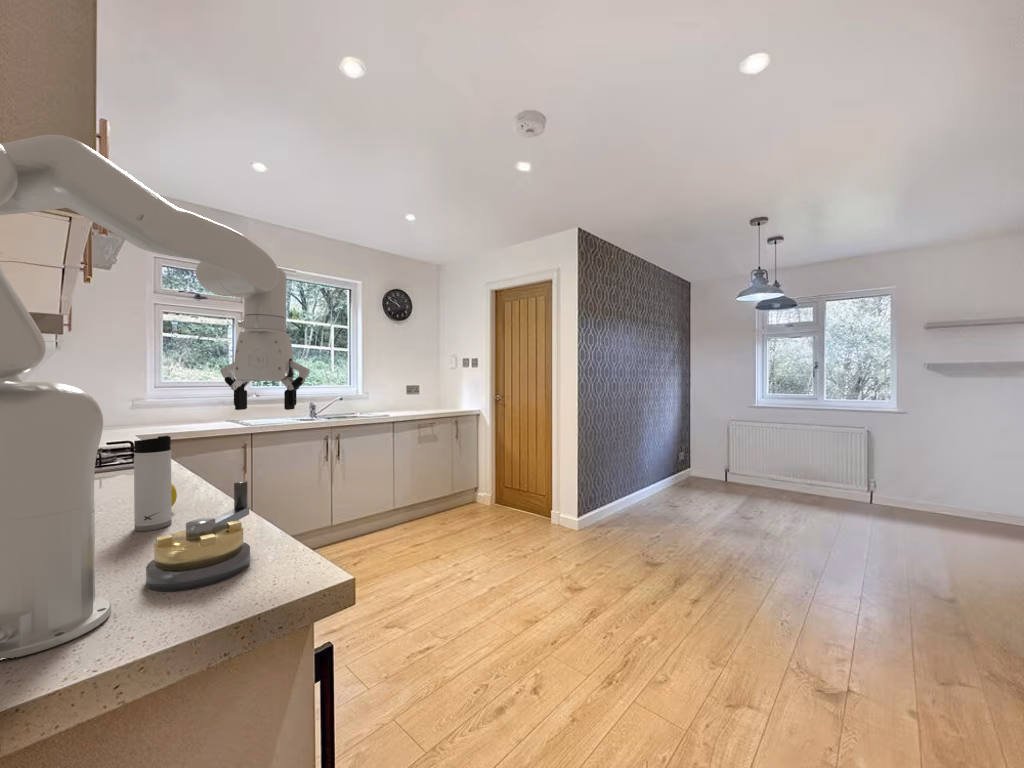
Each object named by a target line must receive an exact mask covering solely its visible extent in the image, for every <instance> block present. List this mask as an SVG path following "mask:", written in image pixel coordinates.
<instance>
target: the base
mask: <svg viewBox="0 0 1024 768" xmlns="http://www.w3.org/2000/svg"><path fill="white" fill-rule="evenodd" d="M250 564H251V546H250V545H249V544H248V543H247V542H244V541H243V549H242V551H241V552H240V553H238V554H237V555H235V556H233V557H231V558H229V559H226V560H224V561H221V562H218V563H215V564H211V565H207V566H203V567H198V568H193V569H185V570H162V569H158V568H156V567H155V565H154V559H152V560H151V561H150V562H148V563H147V565H146V567H145V585H146V587H147V588H148V589H149V590H151V591H154V592H155V591H156V592H161V593H162V592H166V593H168V592H169V593H170V592H171V593H172V592H182V591H190V590H195V589H199V588H200V589H201V588H204V587H208V586H212V585H215V584H217V583H221V582H224V581H226V580H229V579H232V578H233V577H235V576H237V575H239V574H241V573H242V572H244V571H245V570H246V569H248V567H249V566H250Z"/></svg>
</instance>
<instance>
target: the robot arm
mask: <svg viewBox="0 0 1024 768" xmlns="http://www.w3.org/2000/svg"><path fill="white" fill-rule="evenodd" d="M65 208H66V209H69V210H71V211H73V212H75V213H77V214H78V215H79V216H81V217H84V218H85V219H87V220H89V221H91V222H93V223H94V224H96V225H98V226H100V227H101V228H103V229H105V230H107V231H109V232H110V233H113V234H115V235H116V236H118V237H120V238H121V239H123V240H124V241H127V242H128V243H130V244H131V245H132V246H133V245H134V246H135V247H136V248H139V249H141V250H144V251H147V252H151V253H154V254H158V255H159V254H160V255H163V256H169V257H174V258H175V257H177V258H183V259H189V260H195V261H199V262H198V264H197V266H196V269H195V276H196V278H197V282H199V284H200V285H201V287H203V288H204V290H206V291H208V292H210V293H212V294H214V295H217V296H223V297H234V298H235V297H236V298H242V299H243V300H244V301H243V302H244V305H243V307H244V310H243V312H244V316H243V320H238V322H237V326H238V327H239V328H242V329H243V331H239V332H238V333H239V334H238V337H237V340H236V346H235V352H234V362H232V363H230V364H228V365H226V366H224V367H222V368H221V369H220V371H219V372H220V374H221V375H222V378H223V379H224V382H225V383H226V385H228V386H229V387H230V390H232V391H233V406H234V410H236V411H241V410H242V411H243V410H244V411H245V410H247V409H248V391H247V390H245V388H246V387H247V386H248V385H249V384H250V382H281V383H282V384H283V386H284V387H285V388H286V389H285V390H284V391H283V392H284V398H283V399H284V403H283V404H284V406H283V407H284V410H286V411H289V410H295V406H296V405H297V391H298V390H299V389H300V387H301V386H302V385H303V384H304V383H305V382H306V379H307V378H308V376H309V374H310V372H311V370H310V369H309V368H308V367H307V366H304V365H302V364H299V362H295V361H294V353H293V346H292V340H291V338H290V337H291V336H290V334H289V333H287V275H286V272H285V271H284V270H283V269H282V268H280V267H278V266H277V264H276V263H275V261H274V259H272V257H271V256H270V255H269V254H268V253H267V252H266V251H265V250H264V249H262V248H261V247H259V245H257V244H256V243H254V242H253V241H252V240H250V239H249V238H248V237H246V236H245V235H243V234H242V233H240V232H238V231H237V230H234V229H233V228H231V227H228V226H226V225H224V224H221V223H219V222H216V221H214V220H211V219H209V218H207V217H203V216H201V215H199V214H196V213H194V212H191V211H188V210H185V209H183V208H179V207H177V206H175V205H174V204H172V203H170V202H169V201H167V200H166V199H165V198H163V197H161V196H160V195H159V194H158V193H156V192H154V191H153V190H151V189H150V188H149V187H147V186H146V185H145V184H144V183H142V182H140V181H138V180H137V179H136V178H135V177H134V176H132V175H131V174H129V173H128V172H127V171H124V170H123V169H121V168H120V167H118V166H117V165H116V164H115V163H113V162H112V161H110V160H109V159H107V158H106V157H105V156H103V155H102V154H100V153H99V152H97V151H95V149H92V148H91V147H90V146H88V145H86V144H85V143H83V142H81V141H80V140H77V139H75V138H73V137H70V136H67V135H62V134H44V135H43V134H42V135H35V136H32V137H27V138H23V139H19V140H18V139H17V140H14V141H13V140H12V141H8V142H4V143H0V216H3V215H4V216H7V215H17V214H27V213H28V214H29V213H37V212H45V211H54V210H59V209H65ZM31 315H32V314H30V312H29V311H28V309H27V307H26V306H25V304H24V302H23V301H22V299H21V297H20V296H19V294H18V293H17V290H16V289H15V288H14V286H13V284H12V282H11V281H10V279H9V278H8V276H7V275H6V273H5V270H4V269H3V267H2V265H1V264H0V659H1V658H11V659H16V658H21V657H25V656H28V655H31V654H32V655H33V654H37V653H40V652H42V651H45V650H48V649H52V648H53V647H58V646H59V645H63V644H65V643H67V642H70V641H72V640H74V639H76V638H79V637H81V636H83V635H85V634H86V633H88V632H91V631H92V630H94V629H96V628H97V627H99V625H102V623H104V622H105V621H106V620H107V618H109V616H110V615H111V613H112V603H111V601H109V600H108V599H106V598H102V597H96V555H95V554H96V548H95V547H96V546H95V545H96V542H95V541H96V535H95V533H96V532H95V529H96V526H95V522H96V521H95V518H96V517H95V472H96V471H95V470H96V461H97V455H98V451H99V446H100V443H101V438H102V435H103V429H104V418H103V417H104V415H103V412H102V409H101V407H100V405H99V404H98V402H97V401H96V399H94V398H93V396H91V395H90V394H89V393H88V392H86V391H84V390H82V389H81V388H79V387H75V386H72V385H68V384H65V383H59V382H51V381H50V382H49V381H22V380H21V379H20V377H19V376H20V375H22V374H25V373H28V372H30V371H31V370H33V369H35V368H36V367H37V366H38V365H39V364H40V363H41V362H42V361H43V359H44V358H45V356H46V348H47V346H46V341H45V338H44V336H43V334H42V332H41V329H40V328H39V326H38V325H37V323H36V322H35V319H34V318H33V317H32V316H31ZM295 370H296V371H297V372H298V373H299V374H298V376H297V377H296V378H295V379H293V378H294V373H295ZM233 375H234V376H233ZM15 657H16V658H15Z"/></svg>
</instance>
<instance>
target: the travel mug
mask: <svg viewBox="0 0 1024 768" xmlns="http://www.w3.org/2000/svg"><path fill="white" fill-rule="evenodd" d="M171 442H172V437H171V436H170V435H161V436H157V437H156V438H147V439H139V440H134V442H133V443H134V445H133V446H134V450H133V455H134V456H133V481H134V482H133V486H134V487H133V497H134V498H133V499H134V500H133V501H134V502H133V503H134V504H133V505H134V507H133V508H134V509H133V510H134V512H133V513H134V514H133V515H134V530H135V531H136V532H151V531H155V530H160V529H161V530H162V529H163V528H167V527H168V526H170V525H171V524H172V523H173V522H172V520H173V519H172V515H173V514H172V507H173V506H172V505H171V484H172V447H171V446H172V443H171Z"/></svg>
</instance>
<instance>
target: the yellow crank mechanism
mask: <svg viewBox="0 0 1024 768" xmlns="http://www.w3.org/2000/svg"><path fill="white" fill-rule="evenodd" d="M248 495H249V494H248V481H247V480H239V481H235V482H234V483H233V509H232V510H229V511H227V512H225V513H222V514H221V515H219V516H216V517H204V518H203V517H202V518H197V519H193V520H189V521H187V522H186V523H185V530H181V531H177V532H174V533H172V534H170V533H169V534H165V535H160V536H156V537H155V543H154V545H153V549H154V550H153V553H154V555H153V557H154V558H153V560H154V565H155V567H156V568H158V569H162V570H185V569H193V568H198V567H203V566H207V565H211V564H215V563H218V562H221V561H224V560H226V559H229V558H231V557H233V556H235V555H237V554H238V553H240V552H241V551H242V549H243V542H244V527H242V521H241V519H243V518H245V517H247V516H248V515H249V516H250V506H248V503H249V501H248V500H249V499H248Z"/></svg>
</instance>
